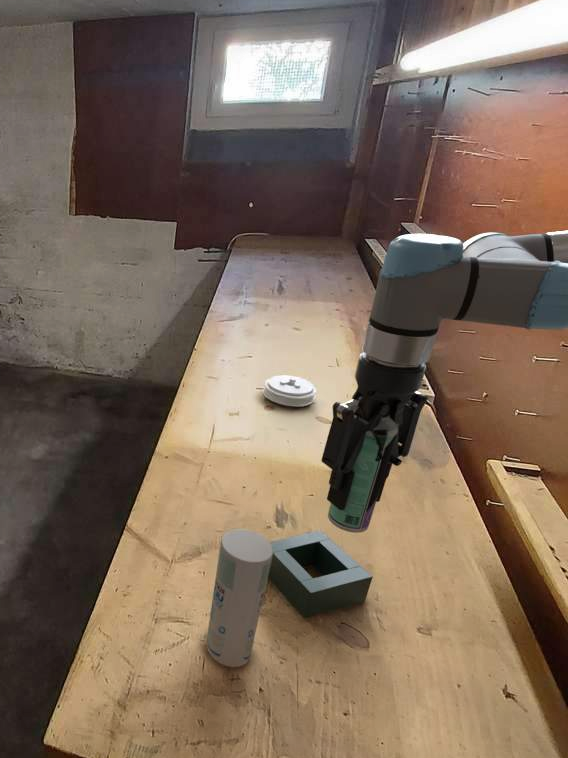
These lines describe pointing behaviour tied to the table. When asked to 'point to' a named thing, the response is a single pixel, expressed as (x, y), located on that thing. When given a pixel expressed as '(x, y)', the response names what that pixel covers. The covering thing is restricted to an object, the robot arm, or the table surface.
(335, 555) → the holder
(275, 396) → the lid
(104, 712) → the table surface
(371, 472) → the spray can
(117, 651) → the table surface
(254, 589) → the spray can
